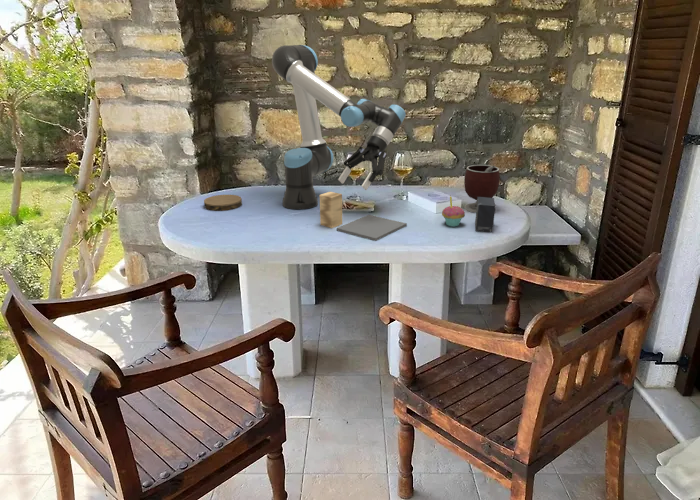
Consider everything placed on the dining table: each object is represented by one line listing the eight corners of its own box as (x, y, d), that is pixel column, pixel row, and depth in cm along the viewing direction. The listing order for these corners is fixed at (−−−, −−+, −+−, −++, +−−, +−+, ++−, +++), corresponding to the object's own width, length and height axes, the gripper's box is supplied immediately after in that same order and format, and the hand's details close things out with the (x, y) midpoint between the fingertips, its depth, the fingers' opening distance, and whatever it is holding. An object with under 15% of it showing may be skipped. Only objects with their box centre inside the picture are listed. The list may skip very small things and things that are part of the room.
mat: (336, 230, 193) (336, 228, 192) (368, 217, 207) (368, 214, 207) (375, 240, 182) (375, 238, 182) (406, 225, 196) (406, 223, 196)
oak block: (320, 225, 199) (319, 194, 194) (330, 221, 203) (329, 191, 198) (332, 228, 195) (331, 197, 191) (342, 224, 199) (341, 194, 195)
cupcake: (451, 229, 192) (453, 198, 188) (436, 223, 199) (438, 193, 194) (468, 225, 196) (471, 194, 192) (453, 219, 203) (455, 189, 199)
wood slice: (202, 212, 216) (201, 205, 215) (206, 202, 230) (205, 195, 229) (241, 210, 218) (240, 203, 217) (242, 200, 232) (242, 193, 231)
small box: (493, 232, 189) (496, 205, 185) (475, 231, 190) (477, 204, 186) (492, 223, 198) (494, 197, 194) (474, 222, 199) (476, 196, 196)
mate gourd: (456, 205, 220) (460, 158, 213) (486, 202, 223) (490, 156, 216) (473, 216, 206) (477, 167, 199) (504, 213, 209) (510, 164, 202)
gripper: (407, 150, 197) (379, 196, 193) (363, 142, 214) (336, 184, 211) (398, 138, 192) (369, 185, 188) (353, 131, 209) (325, 173, 206)
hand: (351, 184), depth 200 cm, fingers open, 13 cm apart
